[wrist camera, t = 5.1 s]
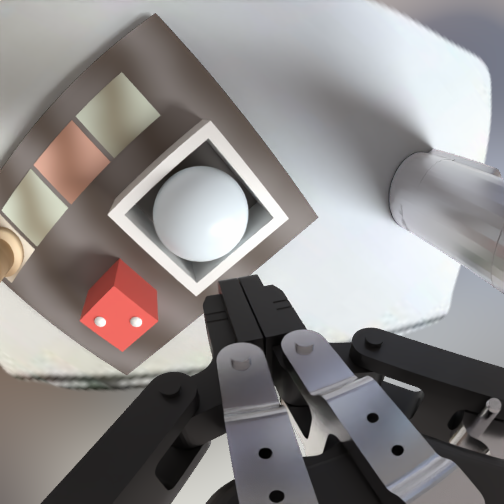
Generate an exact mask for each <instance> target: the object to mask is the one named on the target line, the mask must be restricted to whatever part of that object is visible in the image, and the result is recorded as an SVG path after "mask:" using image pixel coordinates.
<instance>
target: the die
mask: <svg viewBox="0 0 504 504" xmlns="http://www.w3.org/2000/svg"><path fill="white" fill-rule="evenodd" d="M80 322H82V323H83V324H84V325H86V326H87V327H88V328H90V329H91V330H92V331H94V332H95V333H96V334H98V335H99V336H101V337H102V338H103V339H105V340H106V341H108V342H109V343H110V344H112V345H113V346H115V347H116V348H118V349H119V350H121V351H122V352H123V351H124V350H125V349H126V348H128V347H129V346H130V345H131V344H132V343H133V342H135V341H136V340H137V339H138V338H139V337H140V336H142V335H143V334H144V333H145V332H146V331H147V330H149V329H150V328H151V327H152V326H153V325H154V324H156V323H157V322H158V304H157V290H156V289H154V288H153V287H152V286H151V285H150V284H149V283H147V282H146V281H145V280H144V279H143V278H142V277H140V276H139V275H138V274H137V273H136V272H135V271H134V270H132V269H131V268H130V267H129V266H128V265H127V264H126V263H125V262H123V261H122V260H121V259H120V258H119V259H118V260H117V261H116V262H115V263H114V264H113V266H112V267H111V268H110V269H109V270H108V271H107V272H106V273H105V274H104V275H103V276H102V277H101V278H100V279H99V280H98V281H97V282H96V283H95V284H94V285H93V286H92V287H91V288H90V289H89V290H88V293H87V297H86V300H85V303H84V307H83V310H82V314H81V317H80Z"/></svg>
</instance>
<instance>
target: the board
mask: <svg viewBox="0 0 504 504" xmlns="http://www.w3.org/2000/svg"><path fill="white" fill-rule="evenodd" d="M201 120H210V121H211V122H212V123H213V124H214V125H215V126H216V128H217V129H218V130H219V131H220V132H221V134H222V135H223V136H224V137H225V138H226V140H227V141H228V142H229V143H230V145H231V146H232V147H233V148H234V150H235V151H236V152H237V153H238V154H239V156H240V157H241V158H242V159H243V161H244V162H245V163H246V164H247V166H248V167H249V168H250V169H251V171H252V172H253V173H254V174H255V176H256V177H257V178H258V179H259V181H260V182H261V183H262V185H263V186H264V187H265V188H266V190H267V191H268V192H269V194H270V195H271V196H272V197H273V199H274V200H275V201H276V203H277V204H278V205H279V206H280V208H281V209H282V210H283V212H284V213H285V214H286V216H287V217H288V218H289V219H288V220H287V221H285V222H284V223H283V224H282V225H281V226H280V227H278V228H277V229H276V230H275V231H274V232H272V233H271V234H270V235H269V236H268V237H266V238H265V239H264V240H263V241H262V242H260V243H259V244H258V245H257V246H256V247H255V248H253V249H252V250H251V251H250V252H249V253H247V254H246V255H245V256H244V257H243V258H241V259H240V260H239V261H238V262H237V263H235V264H234V265H233V266H232V267H231V268H230V269H228V270H227V271H226V272H225V273H224V274H222V275H221V276H220V277H219V278H218V279H216V280H215V281H214V282H213V283H212V284H211V285H209V286H208V287H207V288H206V289H205V290H203V291H202V292H201V293H200V294H199V295H197V296H195V295H194V294H193V293H192V292H191V291H189V290H188V289H187V288H186V287H185V286H184V285H183V284H181V283H180V282H179V281H178V280H177V279H176V278H175V277H174V276H172V275H171V274H170V273H169V272H168V271H167V270H166V269H165V268H164V267H162V266H161V265H160V264H159V263H158V262H157V261H156V260H155V259H154V258H153V257H151V256H150V255H149V254H148V253H147V252H146V251H145V250H144V249H143V248H142V247H141V246H140V245H138V244H137V243H136V242H135V241H134V240H133V239H132V238H131V237H130V236H129V235H128V234H127V233H126V232H125V231H124V230H123V229H122V228H121V227H120V226H119V225H117V224H116V223H115V222H114V221H113V220H112V219H111V218H110V217H109V216H108V213H109V211H110V209H111V207H112V204H113V202H114V200H115V198H116V197H117V196H118V195H119V194H120V193H121V192H122V191H123V190H124V189H125V188H126V187H127V186H128V185H129V184H131V183H132V182H133V181H134V180H135V179H136V178H137V177H138V176H139V175H140V174H141V173H142V172H143V171H144V170H145V169H146V168H147V167H148V166H149V165H151V164H152V163H153V162H154V161H155V160H156V159H157V158H158V157H159V156H160V155H161V154H163V153H164V152H165V151H166V150H167V149H168V148H169V147H170V146H172V145H173V144H174V143H175V142H176V141H177V140H179V139H180V138H181V137H182V136H183V135H184V134H186V133H187V132H188V131H189V130H190V129H192V128H193V127H194V126H195V125H196V124H198V123H199V122H200V121H201ZM194 166H208V167H213V168H217V169H219V170H221V171H223V172H225V173H227V174H228V175H230V176H231V177H232V178H233V179H234V180H235V181H236V182H237V183H238V184H239V186H240V187H241V189H242V190H243V192H244V194H245V197H246V200H247V205H248V210H249V209H250V208H251V207H252V206H253V205H255V204H256V203H257V201H256V200H255V198H254V197H253V196H252V195H251V193H250V192H249V191H248V190H247V189H246V187H245V186H244V185H243V184H242V183H241V181H240V180H239V179H238V178H237V176H236V175H235V174H234V173H233V172H232V170H231V169H230V168H229V167H228V166H227V164H226V163H225V162H224V161H223V160H222V159H221V157H220V156H219V155H218V154H217V153H216V151H215V150H214V149H213V148H212V147H211V145H210V144H209V143H208V142H207V141H205V142H203V143H202V144H201V145H200V146H199V147H197V148H196V149H195V150H194V151H193V152H192V153H190V154H189V155H188V156H187V157H186V158H185V159H183V160H182V161H181V162H180V163H179V164H178V165H177V166H176V167H174V168H173V169H172V170H171V171H170V172H169V173H168V174H167V175H165V176H164V177H163V178H162V179H161V180H160V181H159V182H158V183H157V184H156V185H155V186H154V187H152V188H151V189H150V190H149V191H148V192H147V193H146V194H145V195H144V196H143V197H142V198H141V199H140V200H139V201H138V202H137V203H136V205H137V206H138V207H139V208H140V209H141V210H142V211H143V212H144V213H145V214H146V215H147V216H148V217H149V218H150V219H151V220H152V221H153V207H154V202H155V199H156V196H157V194H158V192H159V190H160V188H161V187H162V185H163V184H164V183H165V182H166V181H167V180H168V179H169V178H170V177H171V176H173V175H174V174H175V173H177V172H179V171H181V170H183V169H186V168H189V167H194ZM317 218H318V216H317V215H316V213H315V212H314V210H313V209H312V207H311V206H310V205H309V203H308V202H307V200H306V199H305V197H304V196H303V194H302V193H301V192H300V190H299V189H298V187H297V186H296V185H295V183H294V182H293V180H292V179H291V178H290V176H289V175H288V173H287V172H286V171H285V169H284V168H283V167H282V165H281V164H280V162H279V161H278V160H277V158H276V157H275V156H274V154H273V153H272V152H271V150H270V149H269V148H268V146H267V145H266V144H265V142H264V141H263V140H262V138H261V137H260V136H259V134H258V133H257V132H256V131H255V129H254V128H253V127H252V125H251V124H250V123H249V121H248V120H247V119H246V118H245V116H244V115H243V114H242V113H241V111H240V110H239V109H238V108H237V106H236V105H235V104H234V103H233V101H232V100H231V99H230V98H229V96H228V95H227V94H226V93H225V91H224V90H223V89H222V88H221V87H220V85H219V84H218V83H217V82H216V81H215V79H214V78H213V77H212V76H211V75H210V73H209V72H208V71H207V70H206V69H205V68H204V66H203V65H202V64H201V63H200V62H199V61H198V59H197V58H196V57H195V56H194V55H193V54H192V53H191V51H190V50H189V49H188V48H187V47H186V46H185V45H184V44H183V42H182V41H181V40H180V39H179V38H178V37H177V36H176V35H175V34H174V32H173V31H172V30H171V29H170V28H169V27H168V26H167V25H166V24H165V23H164V22H163V21H162V19H161V18H160V17H159V16H158V15H157V14H156V13H155V14H154V15H152V16H151V17H149V18H148V19H147V20H145V21H144V22H143V23H141V24H140V25H139V26H137V27H136V28H135V29H133V30H132V31H131V32H129V33H128V34H127V35H126V36H124V37H123V38H122V39H121V40H119V41H118V42H117V43H116V44H114V45H113V46H112V47H111V48H110V49H109V50H107V51H106V52H105V53H104V54H103V55H102V56H100V57H99V58H98V59H97V60H96V61H95V62H94V63H93V64H92V65H91V66H89V67H88V68H87V69H86V70H85V71H84V72H83V73H82V74H81V75H80V76H79V77H78V78H77V79H76V80H75V81H74V82H73V83H72V84H71V85H70V86H69V87H68V88H67V89H66V90H65V91H64V92H63V93H62V94H61V95H60V96H59V97H58V99H57V100H56V101H55V102H54V103H53V104H52V105H51V106H50V107H49V108H48V110H47V111H46V112H45V113H44V114H43V115H42V117H41V118H40V119H39V120H38V121H37V122H36V124H35V125H34V126H33V127H32V129H31V130H30V131H29V132H28V134H27V135H26V136H25V137H24V139H23V140H22V141H21V143H20V144H19V145H18V147H17V148H16V149H15V151H14V152H13V153H12V155H11V156H10V158H9V159H8V160H7V162H6V163H5V165H4V166H3V168H2V169H1V171H0V227H6V228H9V229H10V230H12V231H13V232H14V233H16V235H17V236H18V237H19V239H20V240H21V242H22V245H23V249H24V259H23V263H22V265H21V266H20V268H19V269H18V270H17V272H16V273H15V274H14V275H12V276H10V277H4V278H3V279H2V281H3V282H4V283H5V284H6V285H7V286H8V287H9V288H10V289H12V290H13V291H14V292H15V293H16V294H17V295H18V296H19V297H21V298H22V299H23V300H24V301H25V302H26V303H28V304H29V305H30V306H31V307H32V308H33V309H35V310H36V311H37V312H38V313H39V314H41V315H42V316H43V317H44V318H46V319H47V320H48V321H49V322H51V323H52V324H53V325H55V326H56V327H57V328H58V329H60V330H61V331H62V332H64V333H65V334H66V335H68V336H69V337H70V338H72V339H73V340H75V341H76V342H77V343H79V344H80V345H82V346H83V347H84V348H86V349H87V350H89V351H90V352H92V353H93V354H95V355H96V356H97V357H99V358H100V359H102V360H103V361H105V362H107V363H108V364H110V365H111V366H113V367H114V368H116V369H117V370H119V371H121V372H122V373H124V374H125V375H128V374H129V373H130V372H131V371H133V370H134V369H135V368H136V367H138V366H139V365H140V364H141V363H143V362H144V361H145V360H146V359H148V358H149V357H150V356H151V355H153V354H154V353H155V352H156V351H158V350H159V349H160V348H161V347H163V346H164V345H165V344H166V343H167V342H169V341H170V340H171V339H172V338H174V337H175V336H176V335H177V334H179V333H180V332H181V331H182V330H184V329H185V328H186V327H187V326H188V325H190V324H191V323H192V322H193V321H195V320H196V319H197V318H198V317H199V316H201V315H202V314H203V313H204V311H203V303H204V300H205V298H206V296H210V295H216V294H219V292H218V281H220V280H226V279H232V278H237V279H238V277H244V276H249V275H250V274H252V273H253V272H254V271H255V270H257V269H258V268H259V267H260V266H261V265H263V264H264V263H265V262H266V261H267V260H269V259H270V258H271V257H272V256H273V255H274V254H276V253H277V252H278V251H279V250H280V249H282V248H283V247H284V246H285V245H286V244H288V243H289V242H290V241H291V240H292V239H294V238H295V237H296V236H297V235H298V234H299V233H301V232H302V231H303V230H304V229H305V228H307V227H308V226H309V225H310V224H311V223H312V222H314V221H315V220H316V219H317ZM153 222H154V221H153ZM119 258H120V259H121V260H122V261H123V262H125V263H126V264H127V265H128V266H129V267H130V268H131V269H132V270H134V271H135V272H136V273H137V274H138V275H139V276H140V277H142V278H143V279H144V280H145V281H146V282H147V283H149V284H150V285H151V286H152V287H153V288H154V289H156V290H157V304H158V322H157V323H156V324H154V325H153V326H152V327H151V328H150V329H149V330H147V331H146V332H145V333H144V334H143V335H142V336H140V337H139V338H138V339H137V340H136V341H135V342H133V343H132V344H131V345H130V346H129V347H128V348H126V349H125V350H124V351H123V352H122V351H121V350H119V349H118V348H116V347H115V346H113V345H112V344H110V343H109V342H108V341H106V340H105V339H103V338H102V337H101V336H99V335H98V334H96V333H95V332H94V331H92V330H91V329H90V328H88V327H87V326H86V325H84V324H83V323H82V322H80V317H81V314H82V310H83V307H84V303H85V300H86V297H87V293H88V290H89V289H90V288H91V287H92V286H93V285H94V284H95V283H96V282H97V281H98V280H99V279H100V278H101V277H102V276H103V275H104V274H105V273H106V272H107V271H108V270H109V269H110V268H111V267H112V266H113V264H114V263H115V262H116V261H117V260H118V259H119Z"/></svg>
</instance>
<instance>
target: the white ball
mask: <svg viewBox="0 0 504 504" xmlns="http://www.w3.org/2000/svg"><path fill="white" fill-rule="evenodd" d="M153 221H154V227H155V230H156V233H157V235H158V237H159V238H160V240H161V241H162V243H163V244H164V245H165V247H166V248H167V249H168V250H170V251H171V252H172V253H174V254H175V255H177V256H179V257H181V258H183V259H186V260H189V261H197V262H204V261H211V260H214V259H217V258H220V257H222V256H224V255H225V254H227V253H228V252H230V251H231V250H232V249H233V248H234V247H235V246H236V245H237V244H238V243H239V241H240V240H241V238H242V237H243V235H244V232H245V230H246V227H247V222H248V205H247V200H246V197H245V194H244V192H243V190H242V189H241V187H240V186H239V184H238V183H237V182H236V181H235V180H234V179H233V178H232V177H231V176H230V175H228V174H227V173H225V172H223V171H221V170H219V169H217V168H213V167H208V166H194V167H189V168H186V169H183V170H181V171H179V172H177V173H175V174H174V175H173V176H171V177H170V178H169V179H168V180H167V181H166V182H165V183H164V184H163V185H162V187H161V188H160V190H159V192H158V194H157V196H156V199H155V202H154V207H153Z"/></svg>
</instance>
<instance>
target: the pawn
mask: <svg viewBox="0 0 504 504" xmlns="http://www.w3.org/2000/svg"><path fill="white" fill-rule="evenodd" d="M23 259H24V249H23V245H22V242H21V240H20V239H19V237H18V236H17V235H16V233H14V232H13V231H12V230H10V229H9V228H6V227H0V282H1V281H2V279H3V278H4V277H10V276H12V275H14V274H15V273H16V272H17V270H18V269H19V268H20V266H21V265H22V263H23Z"/></svg>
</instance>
